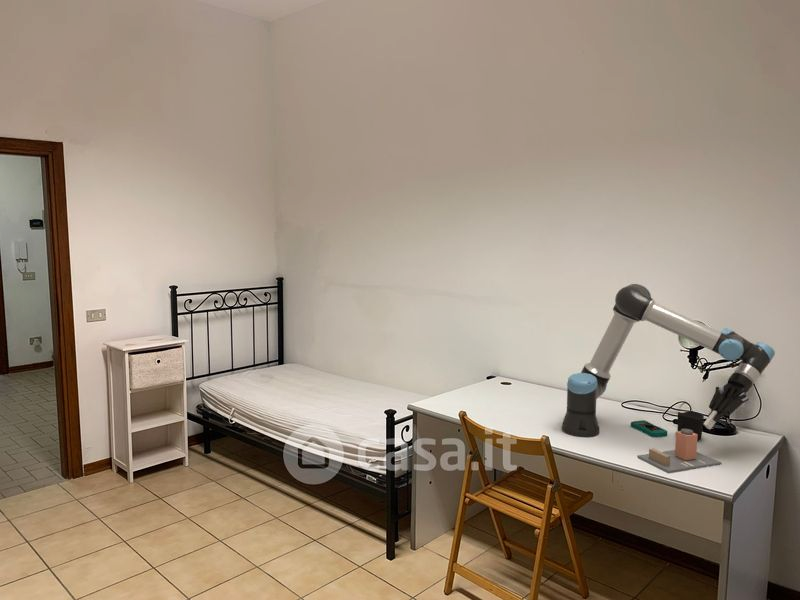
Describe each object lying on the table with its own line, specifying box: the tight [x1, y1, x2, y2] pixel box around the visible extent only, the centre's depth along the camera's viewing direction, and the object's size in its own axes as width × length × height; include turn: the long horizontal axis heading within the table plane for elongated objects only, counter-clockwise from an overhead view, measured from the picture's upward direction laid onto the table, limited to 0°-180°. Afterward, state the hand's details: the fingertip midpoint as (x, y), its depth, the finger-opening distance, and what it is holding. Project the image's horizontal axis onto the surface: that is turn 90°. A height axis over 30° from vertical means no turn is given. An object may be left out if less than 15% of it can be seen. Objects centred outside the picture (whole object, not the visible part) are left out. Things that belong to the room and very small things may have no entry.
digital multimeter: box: [630, 419, 668, 438], centre depth 243 cm, size 7×15×3 cm, turn 16°
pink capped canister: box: [674, 429, 698, 460], centre depth 211 cm, size 5×5×10 cm
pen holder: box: [676, 410, 705, 442], centre depth 234 cm, size 9×9×10 cm
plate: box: [636, 448, 722, 474], centre depth 210 cm, size 24×15×4 cm, turn 109°
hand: (706, 426), depth 213 cm, fingers closed
